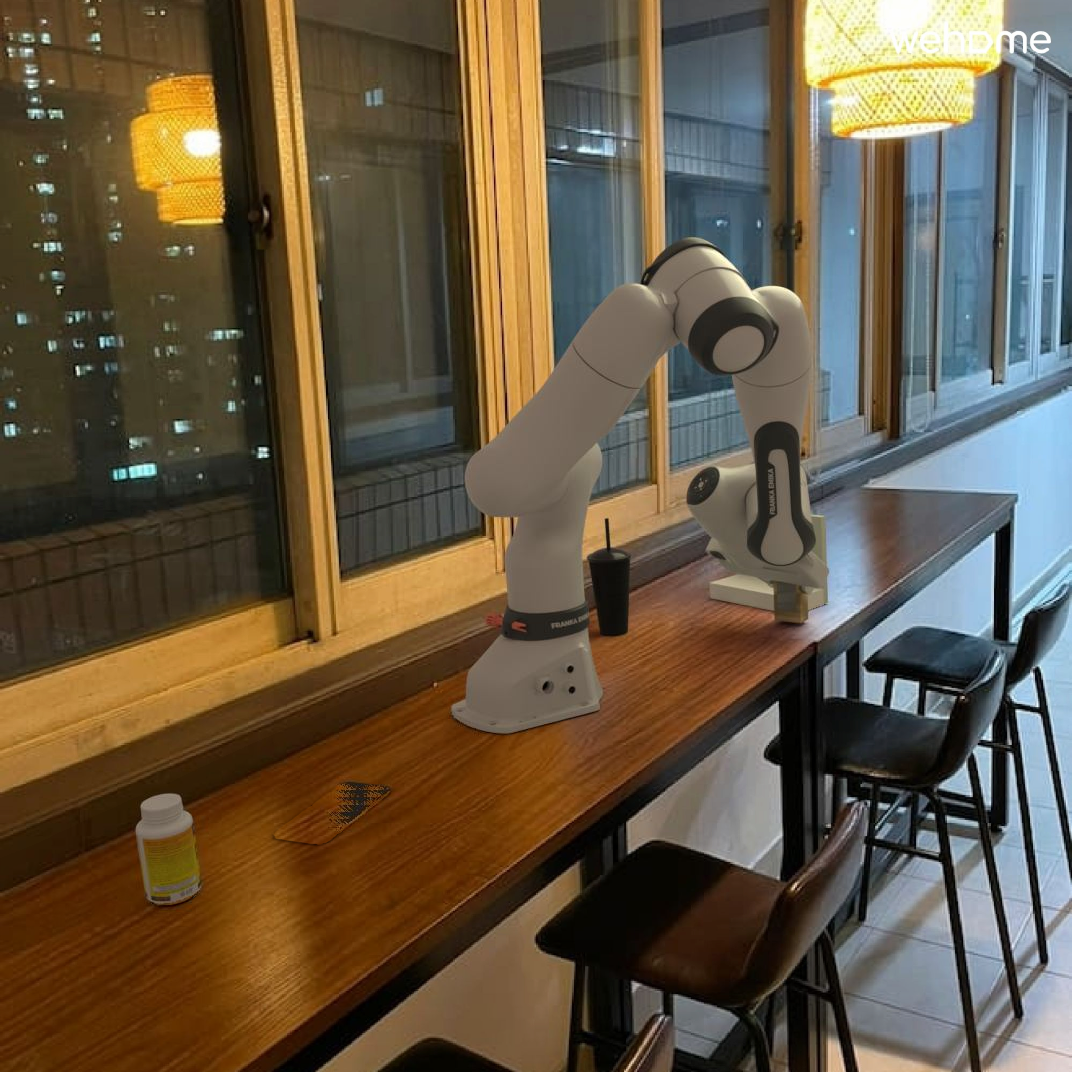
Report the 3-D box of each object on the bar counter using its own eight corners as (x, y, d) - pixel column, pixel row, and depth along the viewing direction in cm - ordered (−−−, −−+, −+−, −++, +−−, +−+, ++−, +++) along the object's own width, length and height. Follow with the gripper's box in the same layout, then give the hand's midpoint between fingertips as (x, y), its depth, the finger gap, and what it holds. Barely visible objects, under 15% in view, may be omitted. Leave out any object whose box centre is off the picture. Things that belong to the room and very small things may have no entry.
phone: (268, 835, 128) (343, 780, 141) (269, 842, 128) (343, 786, 141) (323, 843, 125) (394, 786, 138) (324, 850, 125) (395, 793, 138)
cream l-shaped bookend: (794, 615, 199) (791, 525, 195) (710, 598, 214) (705, 514, 211) (828, 603, 204) (825, 516, 201) (743, 587, 220) (739, 506, 217)
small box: (800, 623, 191) (798, 565, 189) (774, 620, 194) (772, 563, 192) (808, 618, 194) (806, 561, 192) (782, 615, 197) (780, 559, 195)
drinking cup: (633, 638, 193) (626, 522, 189) (589, 638, 194) (580, 523, 190) (638, 625, 200) (631, 513, 196) (595, 626, 202) (587, 515, 198)
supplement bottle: (212, 892, 116) (199, 799, 114) (161, 914, 113) (146, 818, 111) (187, 875, 121) (174, 785, 119) (137, 896, 117) (122, 803, 115)
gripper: (812, 533, 178) (851, 581, 186) (715, 519, 194) (755, 564, 202) (794, 566, 176) (835, 613, 184) (697, 550, 192) (739, 594, 200)
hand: (792, 587), depth 193 cm, fingers closed on small box, 5 cm apart
